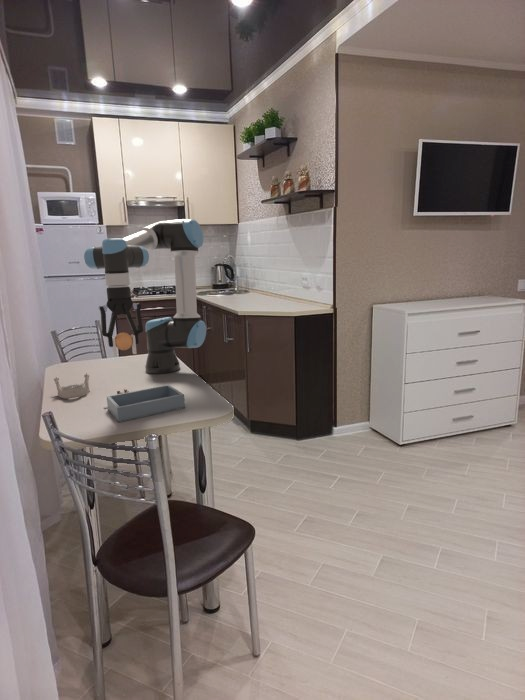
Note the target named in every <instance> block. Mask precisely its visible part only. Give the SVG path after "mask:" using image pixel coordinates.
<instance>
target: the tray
mask: <svg viewBox="0 0 525 700" xmlns="http://www.w3.org/2000/svg"><path fill="white" fill-rule="evenodd" d="M106 402H107V403H106V404H107V407H108V408H107V409H108V411H109V412H110V414H111V415H112V416H113V417H114V418H115V420H116V421H117V422H118V423H122V422H127V421H131V420H134V419H140V418H145V417H149V416H153V415H159V414H163V413H166V412H168V413H169V412H173V411H178V410H181V409H182V410H183V409H185V408H186V402H185V394H184V393H182V391H179V390H178V389H177V388H175V387H174V386H172V385H170V384H165V385H159V386H154V387H149V388H144V389H139V390H132V391H129V392H127V393H121V394H117V393H116V394H113V395H112V394H111V395H107V396H106Z"/></svg>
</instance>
